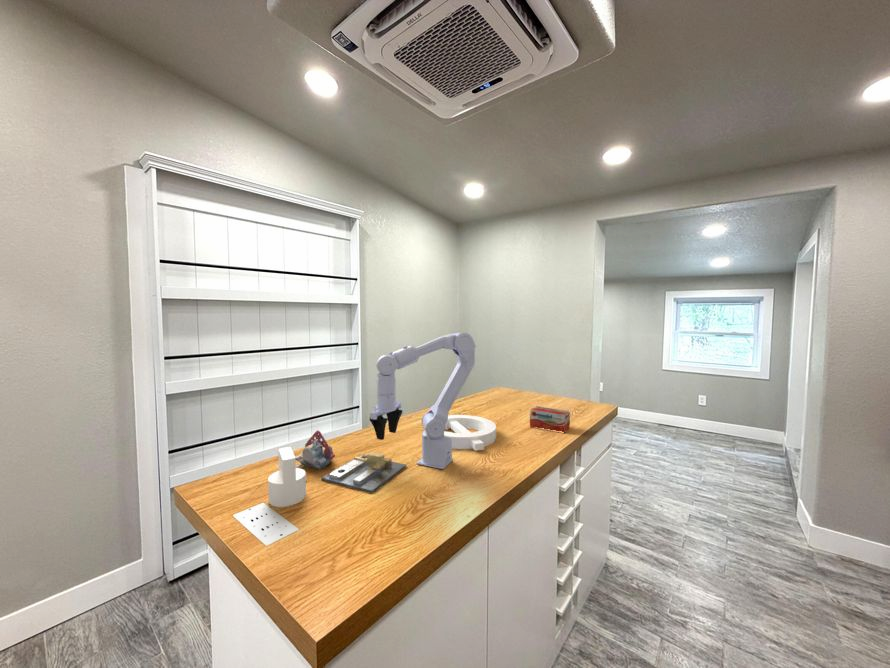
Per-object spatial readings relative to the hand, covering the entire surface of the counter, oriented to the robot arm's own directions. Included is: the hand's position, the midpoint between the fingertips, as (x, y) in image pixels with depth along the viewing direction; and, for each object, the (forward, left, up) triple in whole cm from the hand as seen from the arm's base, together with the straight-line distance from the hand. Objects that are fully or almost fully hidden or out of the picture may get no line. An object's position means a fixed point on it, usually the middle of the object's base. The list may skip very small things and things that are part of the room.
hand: (386, 435), depth 110 cm
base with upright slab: (+13, +27, -10) cm, 32 cm away
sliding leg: (+3, +6, -8) cm, 10 cm away
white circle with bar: (-11, -36, -10) cm, 39 cm away
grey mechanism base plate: (+3, +7, -10) cm, 12 cm away
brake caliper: (+21, +8, -10) cm, 25 cm away
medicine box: (-42, -61, -10) cm, 75 cm away
